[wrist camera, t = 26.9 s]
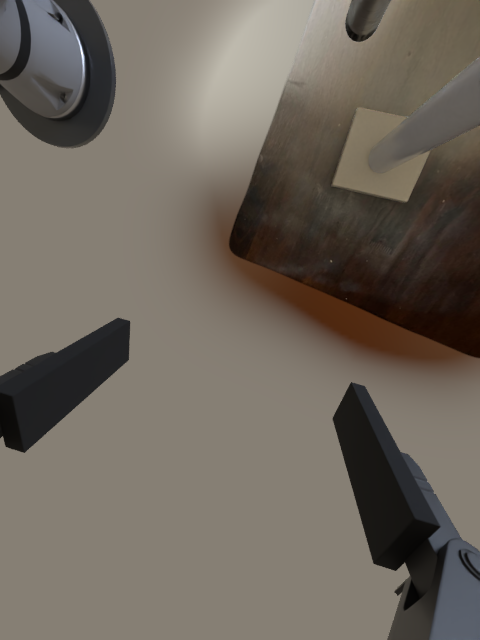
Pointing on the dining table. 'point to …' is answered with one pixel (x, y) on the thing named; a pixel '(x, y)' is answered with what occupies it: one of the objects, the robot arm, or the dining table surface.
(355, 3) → the bent metal pipe
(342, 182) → the faucet base
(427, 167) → the dining table surface
